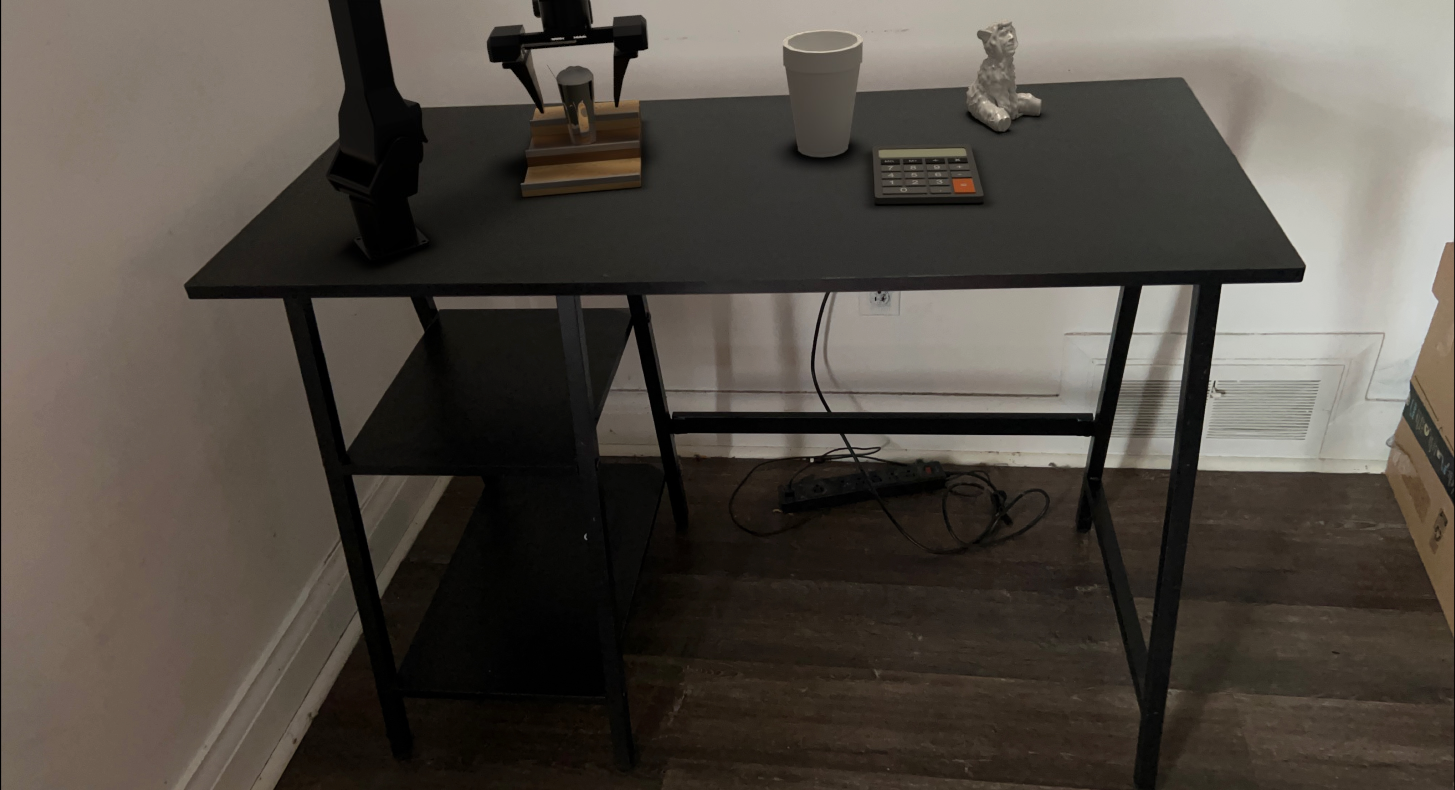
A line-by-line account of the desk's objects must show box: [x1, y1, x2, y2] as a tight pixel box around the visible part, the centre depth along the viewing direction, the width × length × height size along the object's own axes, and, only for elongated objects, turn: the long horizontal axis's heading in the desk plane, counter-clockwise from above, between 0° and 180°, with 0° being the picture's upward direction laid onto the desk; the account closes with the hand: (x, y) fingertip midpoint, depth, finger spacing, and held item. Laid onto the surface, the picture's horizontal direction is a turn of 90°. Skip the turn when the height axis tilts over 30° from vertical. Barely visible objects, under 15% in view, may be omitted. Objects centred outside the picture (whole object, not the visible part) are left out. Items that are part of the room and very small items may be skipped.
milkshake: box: [546, 64, 597, 145], centre depth 118 cm, size 4×5×10 cm
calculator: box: [872, 143, 985, 205], centre depth 110 cm, size 12×1×15 cm
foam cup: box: [782, 29, 864, 158], centre depth 116 cm, size 10×9×13 cm
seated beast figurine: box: [965, 18, 1043, 133], centre depth 121 cm, size 10×9×12 cm
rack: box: [520, 99, 643, 198], centre depth 120 cm, size 22×14×4 cm, turn 4°
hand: (579, 109), depth 118 cm, fingers open, 9 cm apart
